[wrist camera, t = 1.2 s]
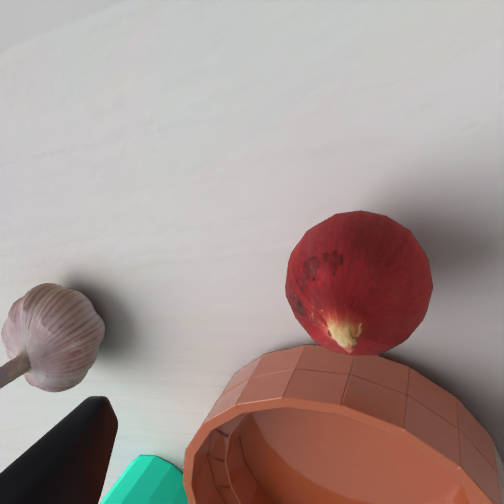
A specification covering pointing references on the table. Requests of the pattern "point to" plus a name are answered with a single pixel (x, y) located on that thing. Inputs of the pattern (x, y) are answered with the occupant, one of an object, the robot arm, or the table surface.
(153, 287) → the table surface
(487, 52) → the table surface
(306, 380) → the terracotta bowl
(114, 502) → the candle
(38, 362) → the garlic bulb
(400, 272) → the onion
